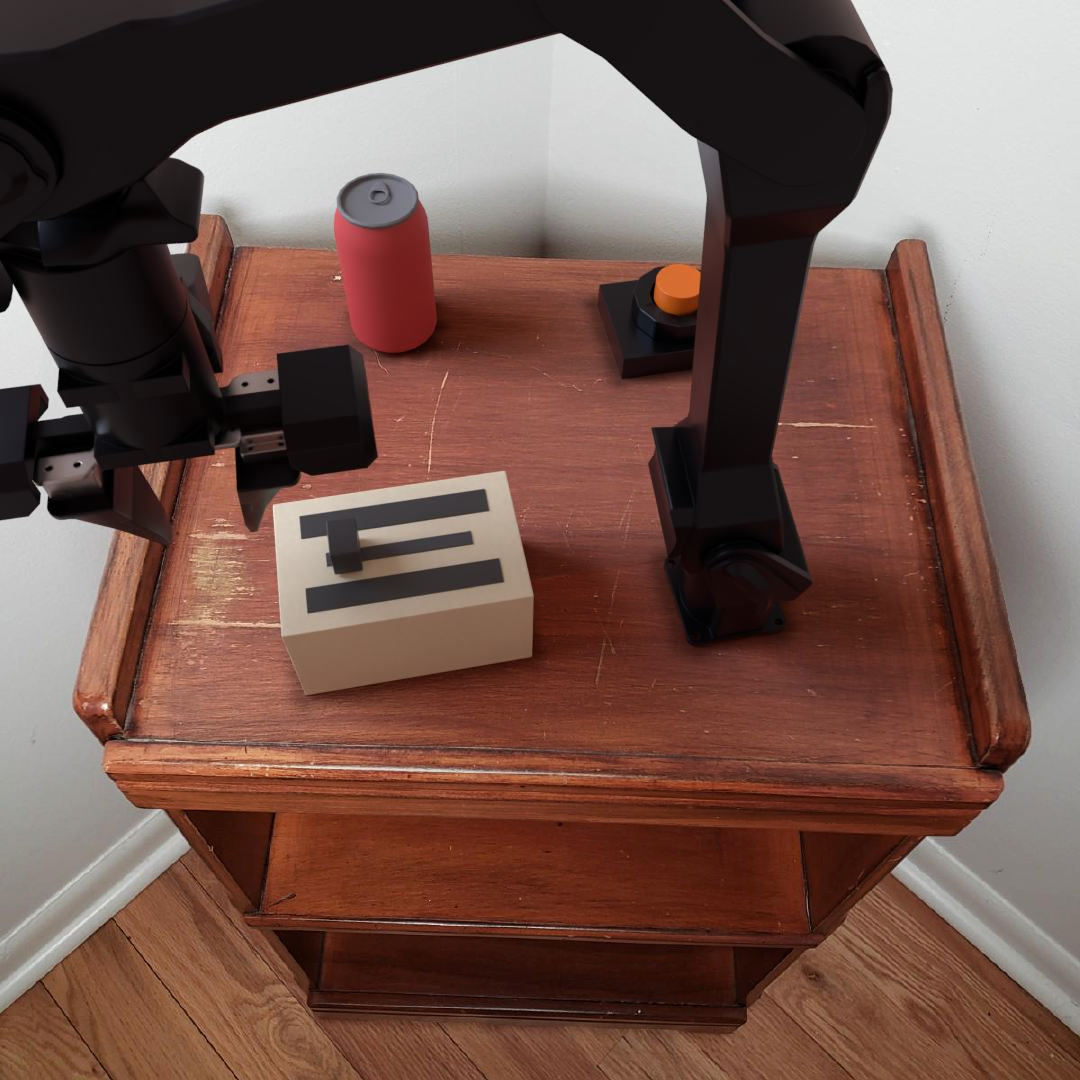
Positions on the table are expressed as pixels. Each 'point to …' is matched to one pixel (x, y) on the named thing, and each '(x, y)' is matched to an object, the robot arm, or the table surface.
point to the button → (677, 289)
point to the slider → (344, 545)
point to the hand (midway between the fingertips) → (211, 530)
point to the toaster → (404, 583)
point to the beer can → (385, 262)
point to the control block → (645, 329)
